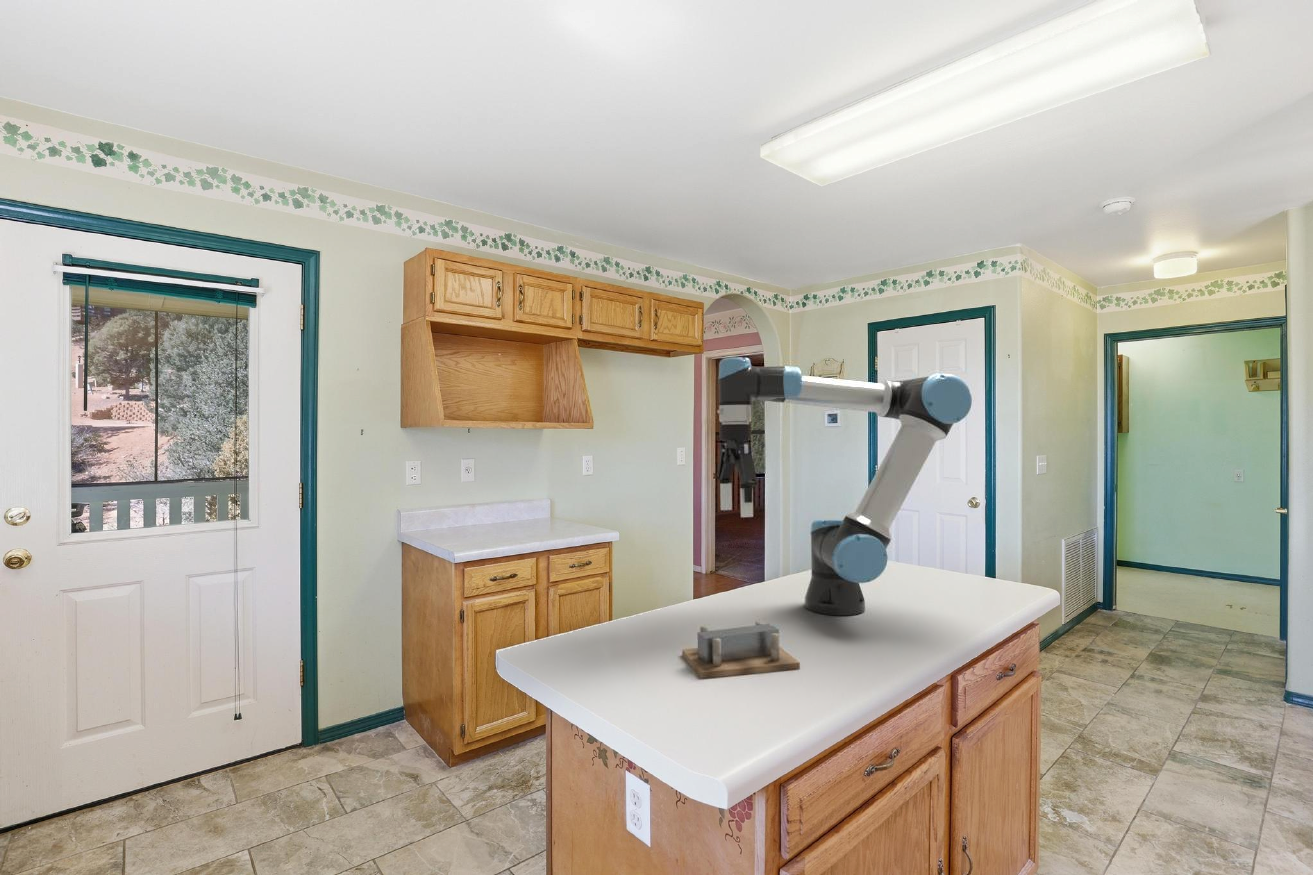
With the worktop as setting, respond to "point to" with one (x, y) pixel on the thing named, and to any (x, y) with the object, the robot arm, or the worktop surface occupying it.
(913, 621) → the worktop surface
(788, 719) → the worktop surface
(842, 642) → the worktop surface
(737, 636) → the steel bar
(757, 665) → the peg rack
